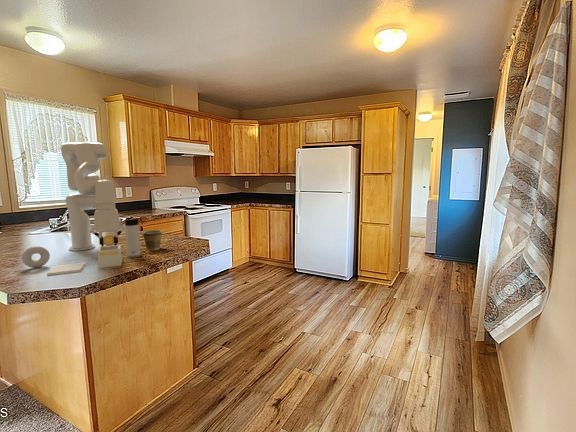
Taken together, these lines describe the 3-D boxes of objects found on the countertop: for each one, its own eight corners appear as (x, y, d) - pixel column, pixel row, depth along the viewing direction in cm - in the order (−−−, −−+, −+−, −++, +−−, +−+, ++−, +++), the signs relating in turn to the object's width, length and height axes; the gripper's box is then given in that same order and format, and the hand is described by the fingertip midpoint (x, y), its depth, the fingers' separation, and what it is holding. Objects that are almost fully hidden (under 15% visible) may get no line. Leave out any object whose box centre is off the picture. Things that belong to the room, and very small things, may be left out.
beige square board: (53, 267, 141) (53, 265, 141) (84, 264, 146) (84, 262, 146) (47, 275, 131) (46, 273, 130) (80, 271, 136) (80, 269, 136)
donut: (23, 270, 137) (20, 248, 136) (22, 268, 140) (20, 247, 138) (51, 266, 144) (49, 245, 142) (50, 264, 146) (48, 243, 145)
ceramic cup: (166, 248, 178) (165, 231, 177) (151, 252, 170) (149, 234, 168) (152, 245, 185) (151, 229, 183) (137, 249, 176) (136, 231, 175)
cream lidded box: (100, 263, 149) (99, 246, 148) (121, 260, 153) (120, 244, 152) (98, 268, 141) (97, 251, 139) (121, 265, 144) (119, 249, 143)
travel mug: (135, 258, 157) (133, 219, 154) (124, 257, 158) (121, 219, 156) (143, 255, 163) (141, 217, 160) (132, 254, 165) (130, 217, 162)
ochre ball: (103, 245, 147) (102, 234, 146) (115, 243, 149) (114, 233, 148) (102, 247, 142) (101, 236, 141) (114, 246, 144) (114, 235, 144)
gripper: (83, 208, 136) (86, 249, 138) (126, 207, 143) (129, 245, 146) (85, 207, 143) (89, 245, 145) (126, 205, 150) (129, 242, 152)
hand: (109, 245), depth 145 cm, fingers closed on ochre ball, 4 cm apart
